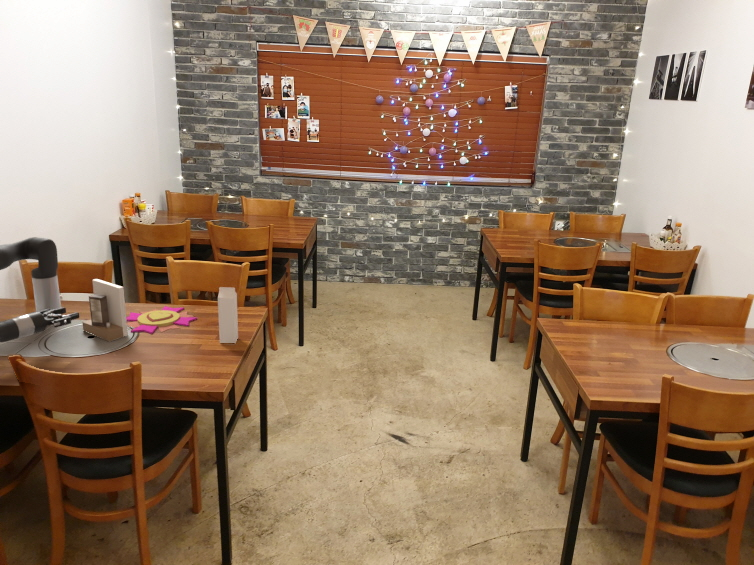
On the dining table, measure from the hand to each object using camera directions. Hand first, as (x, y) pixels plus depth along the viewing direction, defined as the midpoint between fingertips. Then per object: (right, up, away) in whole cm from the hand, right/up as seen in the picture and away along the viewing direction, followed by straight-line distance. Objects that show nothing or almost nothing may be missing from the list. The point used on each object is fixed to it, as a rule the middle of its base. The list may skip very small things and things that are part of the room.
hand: (72, 312), depth 217 cm
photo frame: (+5, -6, +11) cm, 14 cm away
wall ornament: (+21, -5, +30) cm, 37 cm away
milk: (+56, -12, +11) cm, 58 cm away
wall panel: (+6, -9, +14) cm, 17 cm away
